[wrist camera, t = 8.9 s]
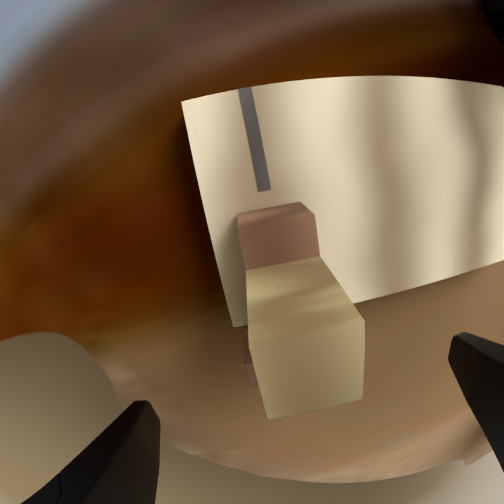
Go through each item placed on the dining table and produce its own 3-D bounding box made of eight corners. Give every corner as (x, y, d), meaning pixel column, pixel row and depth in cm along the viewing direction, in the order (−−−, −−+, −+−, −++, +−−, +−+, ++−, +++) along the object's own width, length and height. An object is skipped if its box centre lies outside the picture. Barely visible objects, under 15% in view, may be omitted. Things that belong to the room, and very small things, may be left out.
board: (480, 89, 15) (503, 86, 12) (489, 246, 18) (510, 257, 16) (190, 108, 15) (181, 101, 13) (234, 306, 19) (233, 328, 17)
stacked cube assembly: (311, 192, 16) (400, 252, 7) (326, 318, 19) (381, 443, 9) (219, 209, 16) (191, 293, 7) (248, 334, 19) (255, 471, 9)
